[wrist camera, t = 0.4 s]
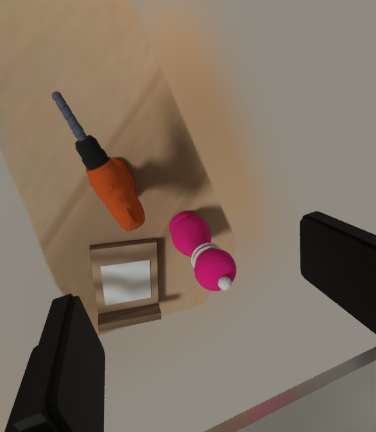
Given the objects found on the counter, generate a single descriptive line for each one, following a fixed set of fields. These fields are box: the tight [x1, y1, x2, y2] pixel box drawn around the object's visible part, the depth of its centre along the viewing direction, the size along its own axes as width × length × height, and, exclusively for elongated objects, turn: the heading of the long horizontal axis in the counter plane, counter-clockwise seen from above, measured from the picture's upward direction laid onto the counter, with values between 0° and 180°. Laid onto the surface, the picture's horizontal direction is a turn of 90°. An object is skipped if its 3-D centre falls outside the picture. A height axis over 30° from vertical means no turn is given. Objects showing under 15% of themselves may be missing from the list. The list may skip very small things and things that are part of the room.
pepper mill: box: [170, 212, 236, 291], centre depth 41 cm, size 7×7×20 cm
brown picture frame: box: [89, 238, 161, 332], centre depth 48 cm, size 16×12×5 cm
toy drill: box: [52, 91, 145, 231], centre depth 33 cm, size 5×19×15 cm, turn 23°
